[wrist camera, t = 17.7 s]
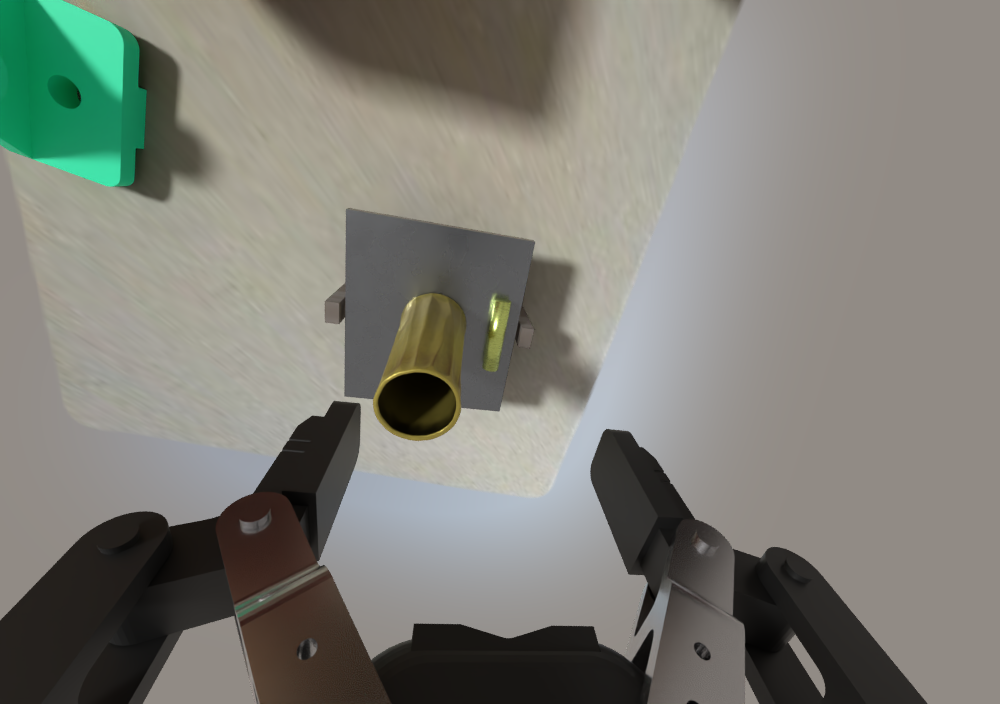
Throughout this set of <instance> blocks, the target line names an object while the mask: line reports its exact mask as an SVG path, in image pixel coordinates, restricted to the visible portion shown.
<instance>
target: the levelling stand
mask: <svg viewBox="0 0 1000 704" xmlns="http://www.w3.org/2000/svg"><path fill="white" fill-rule="evenodd" d="M344 318H345V284H344V285H343V286H342V287H340V288H339V289H338V290H337V291H336V292H335V293H334V294H333V295H331V296H330V297H329V298H328V299H327V300H326V301H325V322H326V323H334V324H340V322H341V321H342V320H343V319H344ZM533 333H534V328H533V326H532V324H531V322H530V320H529V318H528V316H527V314H526V312H525V310H524V308H523V307H521V311H520V316H519V321H518V326H517V330H516V335H515V339H516V342H517V345H518V347H524V348H530V346H531V342H532V337H533Z"/></svg>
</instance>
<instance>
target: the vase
mask: <svg viewBox="0 0 1000 704" xmlns="http://www.w3.org/2000/svg"><path fill="white" fill-rule="evenodd" d="M465 332H466V318H465V315H464V313H463V311H462V309H461V308H460V306H459V305H458V304H457V303H456V302H455V301H454V300H452V299H451V298H449V297H447V296H444V295H441V294H436V293H429V294H424V295H420V296H418V297H416V298H414V299H413V300H411V301H410V302H409V303H408V304H407V305H406V306H405V308H404V310H403V312H402V315H401V321H400V327H399V329H398V332H397V334H396V337H395V341H394V345H393V347H392V350H391V353H390V355H389V359H388V362H387V365H386V367H385V370H384V373H383V375H382V378H381V381H380V384H379V386H378V389H377V391H376V393H375V396H374V399H373V407H374V412H375V415H376V417H377V419H378V420H379V422H380V423H381V424H382V425H383V426H384V427H385V429H387V430H388V431H389V432H391V433H392V434H394V435H396V436H398V437H401V438H404V439H408V440H415V441H422V440H430V439H434V438H437V437H439V436H441V435H443V434H445V433H446V432H448V431H449V430H450V429H451V428H452V427H453V426H454V425H455V424H456V422H457V420H458V418H459V415H460V412H461V366H462V356H463V347H464V335H465Z"/></svg>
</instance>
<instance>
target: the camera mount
mask: <svg viewBox="0 0 1000 704" xmlns="http://www.w3.org/2000/svg"><path fill="white" fill-rule="evenodd" d="M139 53H140V50H139V45H138V42H137V40H136V39H135V37H134V36H133V35H132V34H131V33H130V32H129V31H128V30H126V29H124V28H122V27H120V26H118V25H116V24H113V23H111V22H109V21H107V20H105V19H102V18H100V17H98V16H96V15H94V14H91V13H89V12H87V11H85V10H83V9H80V8H78V7H76V6H74V5H72V4H70V3H67V2H65V1H63V0H0V145H1V146H3V147H4V148H6V149H8V150H9V151H12V152H14V153H17V154H20V155H23V156H25V157H28V158H31V159H34V160H36V161H39V162H42V163H45V164H47V165H50V166H53V167H56V168H58V169H61V170H64V171H67V172H70V173H72V174H75V175H78V176H81V177H83V178H86V179H89V180H92V181H94V182H97V183H100V184H103V185H105V186H129V185H131V184H132V183H133V182H134V178H135V154H136V148H140V149H144V137H145V116H146V96H147V90H145V89H143V88H140V87H138V78H139ZM77 89H78V90H79V92H80V94H81V102H80V100H79V98H78V95H77Z"/></svg>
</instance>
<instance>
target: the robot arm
mask: <svg viewBox="0 0 1000 704" xmlns="http://www.w3.org/2000/svg"><path fill="white" fill-rule="evenodd" d="M360 415H361V407H360V404H359V403H350V402H340V401H334V402H333V403H332V404H331V406H330V408H329V410H328V411H327V413H326V415H325V416H324V417H321V416H311V417H310V418H308V419H307V420H306V421H304V422H303V423H301V424H300V425H298V426H297V428H296V429H295V431H294V432H293V434H292V435H291V437H290V438H289V441H288V442H287V443H286V445H285V446H284V448H283V450H282V452H280V454H279V455H278V457H277V458H276V460H275V461H274V463H273V464H272V466H271V467H270V469H269V470H268V472H267V473H266V475H265V477H264V478H263V479H262V481H261V483H260V484H259V485H258V487H257V488H256V490H255V492H254V493H253V494H251V495H248V496H245V497H243V498H241V499H239V500H237V501H235V502H234V503H232V504H231V505H230V506H228V507H227V508H226V509H225V510H224V511H223V512H222V514H221V515H220V516H218V517H215V518H212V519H207V520H203V521H197V522H192V523H186V524H182V525H176V526H171V527H169V526H168V522H167V520H166V519H165V517H163V516H162V515H160V514H158V513H154V512H134V513H129V514H125V515H122V516H118V517H115V518H113V519H111V520H108V521H106V522H104V523H102V524H100V525H98V526H96V527H95V528H93V529H92V530H90V531H89V532H87V533H86V534H85V535H83V536H82V537H81V538H80V539H79V540H78V541H77V542H76V543H75V544H74V545H73V546H72V547H71V548H70V549H69V550H68V551H67V552H66V553H65V554H64V556H62V557H61V559H60V560H59V561H57V563H56V564H55V565H54V566H53V567H52V568H51V569H50V570H49V571H48V572H47V573H46V574H45V575H44V576H43V577H42V578H41V579H40V580H39V581H38V582H37V583H36V584H35V585H34V586H33V587H32V588H31V590H29V591H28V592H27V594H26V595H25V596H24V597H23V598H22V599H21V600H20V601H19V602H18V603H17V604H16V605H15V606H14V607H13V608H12V609H11V610H10V611H9V612H8V613H7V614H6V615H5V616H4V617H3V618H2V619H1V620H0V704H143V702H144V700H145V698H146V697H147V695H148V693H149V691H150V689H151V688H152V686H153V684H154V682H155V680H156V678H157V677H158V675H159V673H160V671H161V669H162V668H163V666H164V664H165V662H166V660H167V659H168V657H169V655H170V653H171V651H172V650H173V648H174V646H175V644H176V642H177V641H178V639H179V637H180V635H181V633H182V632H183V630H186V629H189V628H193V627H196V626H200V625H203V624H207V623H210V622H214V621H217V620H221V619H224V618H228V617H231V616H234V618H235V622H236V627H237V631H238V635H239V639H240V643H241V647H242V651H243V655H244V660H245V664H246V668H247V672H248V676H249V680H250V684H251V688H252V693H253V697H254V702H255V704H745V676H746V678H747V680H748V682H749V684H750V686H751V688H752V690H753V692H754V694H755V696H756V698H757V700H758V702H759V704H927V703H926V701H925V700H924V699H923V698H922V697H921V695H920V694H919V693H918V692H917V690H916V689H915V688H914V687H913V686H912V684H911V683H910V682H909V681H908V680H907V678H906V677H905V676H904V675H903V673H902V672H901V671H900V670H899V669H898V667H897V666H896V665H895V664H894V662H893V661H892V660H891V659H890V658H889V656H888V655H887V654H886V653H885V652H884V650H883V649H882V648H881V647H880V646H879V644H878V643H877V642H876V641H875V640H874V638H873V637H872V636H871V635H870V633H869V632H868V631H867V630H866V628H865V627H864V626H863V625H862V624H861V622H860V621H859V620H858V619H857V618H856V616H855V615H854V614H853V613H852V612H851V610H850V609H849V608H848V607H847V605H846V604H845V603H844V602H843V601H842V599H841V598H840V597H839V596H838V594H837V593H836V592H835V591H834V590H833V588H832V587H831V586H830V585H829V584H828V582H827V581H826V580H825V579H824V577H823V576H822V575H821V574H820V573H819V572H818V571H817V570H816V569H815V568H814V567H813V566H812V565H811V564H810V563H809V562H807V561H806V560H805V559H803V558H802V557H800V556H798V555H797V554H795V553H793V552H791V551H789V550H787V549H783V548H779V547H771V548H769V549H767V551H766V552H765V553H764V555H763V556H762V557H761V558H758V557H755V556H752V555H750V554H746V553H744V552H740V551H738V550H734V549H732V547H731V545H730V543H729V542H728V541H727V539H726V538H725V537H724V536H723V535H722V534H721V533H720V532H719V531H717V530H716V529H715V528H713V527H712V526H710V525H708V524H706V523H704V522H702V521H699V520H695V518H694V517H693V515H692V514H691V512H690V511H689V509H688V508H687V506H686V504H685V503H684V502H683V500H682V498H681V497H680V495H679V494H678V492H677V491H676V489H675V488H674V486H673V485H672V484H670V480H669V478H668V477H667V475H666V474H664V471H663V469H662V468H661V466H660V465H659V464H658V462H657V460H656V459H655V458H654V457H653V456H652V455H651V454H650V453H649V452H647V451H646V450H645V449H644V448H642V447H639V446H638V444H637V442H636V441H635V439H634V438H633V436H632V434H631V433H630V432H628V431H620V430H610V429H606V430H605V431H604V432H603V434H602V437H601V440H600V442H599V445H598V448H597V450H596V453H595V456H594V458H593V461H592V464H591V471H590V472H591V481H592V484H593V486H594V489H595V491H596V494H597V496H598V499H599V501H600V504H601V506H602V509H603V511H604V514H605V516H606V519H607V521H608V524H609V526H610V529H611V531H612V534H613V537H614V539H615V542H616V544H617V546H618V549H619V552H620V554H621V556H622V559H623V561H624V564H625V566H626V569H627V572H628V574H630V575H645V577H646V580H647V583H646V585H645V587H644V589H643V593H642V596H641V600H640V603H639V607H638V610H637V614H636V618H635V621H634V625H633V628H632V632H631V636H630V639H629V643H628V646H627V649H626V651H625V654H624V656H622V655H621V654H619V653H618V652H616V651H614V650H612V649H610V648H608V647H606V646H604V645H602V644H598V641H597V637H596V634H595V630H594V627H592V626H588V627H587V626H550V627H547V628H543V629H540V630H537V631H534V632H530V633H527V634H524V635H521V636H517V637H514V638H503V637H499V636H496V635H493V634H490V633H487V632H483V631H480V630H477V629H474V628H471V627H467V626H464V625H461V624H414V628H413V635H412V640H408V641H405V642H402V643H399V644H397V645H395V646H393V647H390V648H388V649H387V650H385V651H383V652H382V653H380V654H378V655H377V656H376V657H374V658H373V659H372V660H371V659H370V657H369V655H368V652H367V650H366V648H365V646H364V644H363V642H362V640H361V637H360V635H359V633H358V631H357V629H356V627H355V625H354V622H353V620H352V618H351V616H350V614H349V612H348V610H347V607H346V605H345V603H344V601H343V599H342V597H341V595H340V592H339V590H338V588H337V586H336V584H335V582H334V580H333V577H332V575H331V573H330V572H329V570H328V569H327V567H326V566H325V565H323V566H321V567H320V566H319V565H318V563H317V561H319V560H320V557H321V554H322V552H323V549H324V546H325V544H326V541H327V538H328V536H329V533H330V530H331V528H332V525H333V523H334V520H335V517H336V515H337V512H338V509H339V507H340V504H341V501H342V499H343V496H344V494H345V491H346V488H347V486H348V483H349V480H350V478H351V475H352V472H353V470H354V467H355V464H356V461H357V458H358V453H359V447H360ZM795 634H796V636H797V637H798V639H799V640H800V642H801V643H802V645H803V646H804V648H805V649H806V650H807V652H808V654H809V655H810V657H811V658H812V660H813V661H814V663H815V664H816V666H817V667H818V669H819V671H820V672H821V674H822V677H823V679H824V683H825V696H824V698H823V697H822V696H821V694H820V692H819V691H818V690H817V688H816V686H815V684H814V683H813V681H812V680H811V678H810V677H809V675H808V673H807V672H806V670H805V669H804V667H803V666H802V664H801V662H800V661H799V659H798V658H797V656H796V654H795V653H794V652H793V650H792V648H791V647H790V645H789V643H788V642H789V641H790V639H791V638H792V637H793V636H794V635H795Z"/></svg>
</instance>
